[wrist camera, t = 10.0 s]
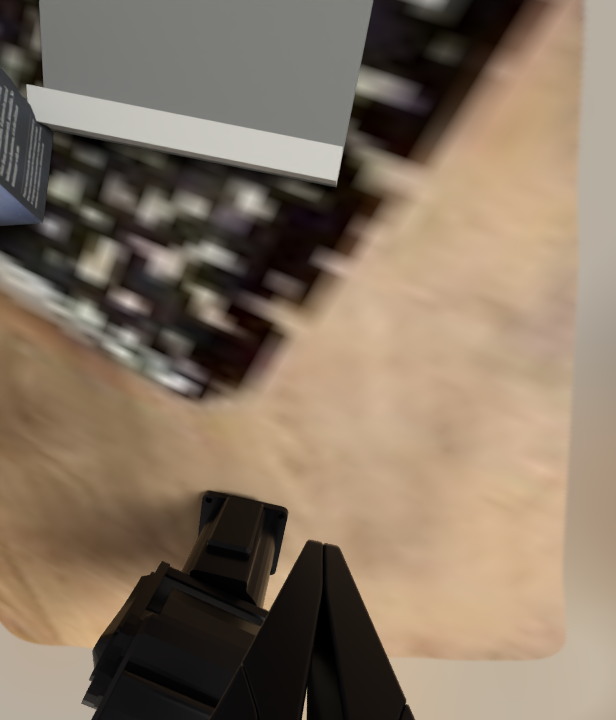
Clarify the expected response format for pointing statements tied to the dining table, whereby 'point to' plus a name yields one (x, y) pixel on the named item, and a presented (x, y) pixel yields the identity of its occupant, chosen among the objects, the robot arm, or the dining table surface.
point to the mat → (207, 78)
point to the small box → (22, 158)
